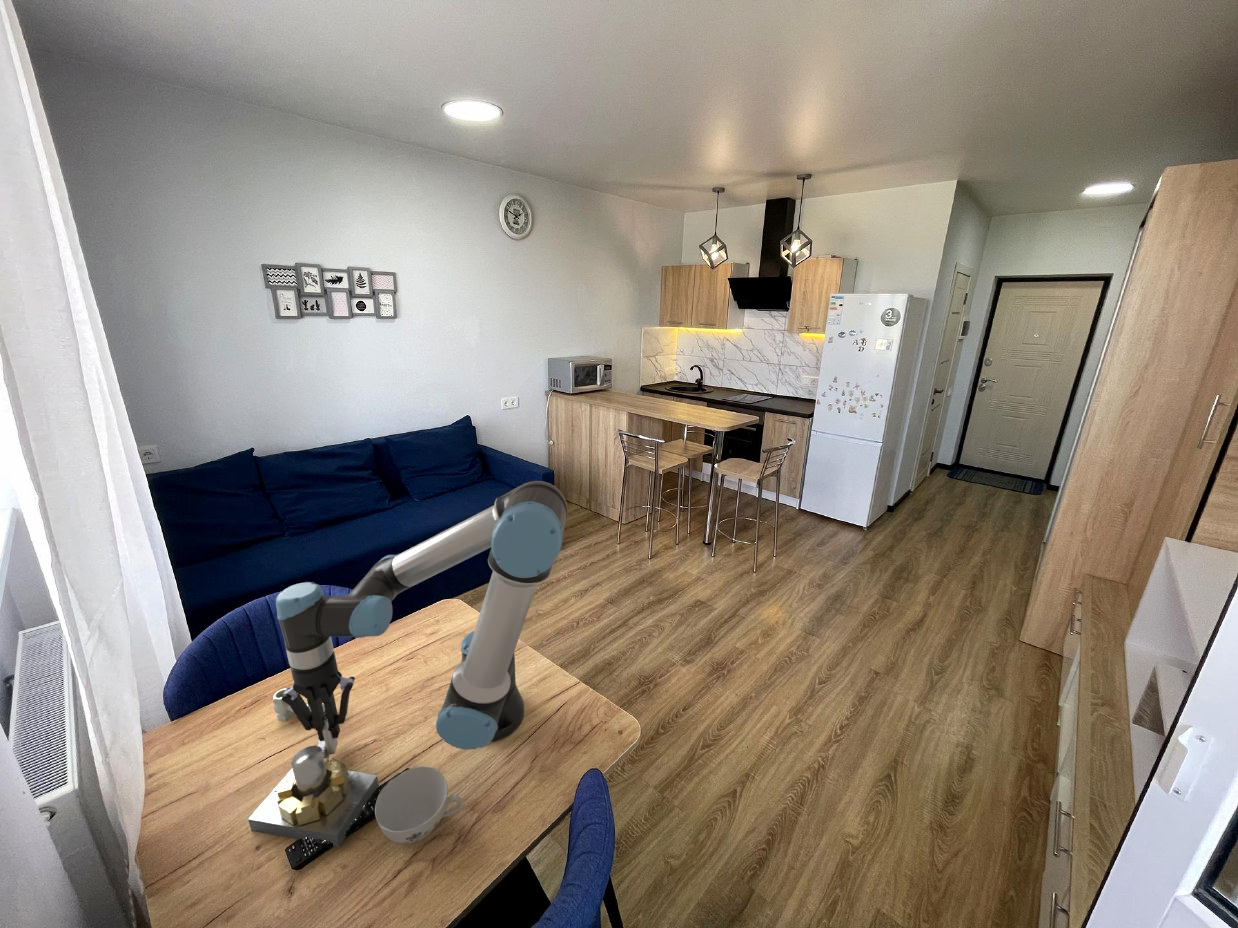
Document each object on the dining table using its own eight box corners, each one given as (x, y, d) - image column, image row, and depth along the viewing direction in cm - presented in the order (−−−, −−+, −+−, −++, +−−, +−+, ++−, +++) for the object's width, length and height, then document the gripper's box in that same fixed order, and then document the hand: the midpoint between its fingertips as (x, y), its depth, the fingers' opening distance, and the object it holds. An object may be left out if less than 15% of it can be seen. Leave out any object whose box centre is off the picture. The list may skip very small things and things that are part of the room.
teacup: (369, 866, 86) (363, 834, 83) (392, 798, 98) (387, 768, 95) (457, 856, 88) (453, 825, 85) (468, 791, 99) (466, 761, 97)
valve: (268, 726, 113) (317, 731, 112) (262, 703, 111) (312, 708, 110) (289, 704, 119) (335, 708, 119) (284, 682, 117) (331, 686, 117)
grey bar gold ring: (357, 725, 110) (355, 711, 109) (342, 812, 91) (339, 796, 90) (301, 739, 106) (298, 724, 105) (274, 832, 88) (270, 816, 86)
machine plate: (379, 786, 100) (371, 737, 96) (339, 846, 89) (328, 794, 85) (300, 772, 102) (289, 724, 98) (251, 830, 91) (236, 778, 87)
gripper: (352, 640, 101) (369, 728, 108) (282, 651, 97) (304, 741, 105) (343, 664, 94) (362, 756, 101) (267, 677, 91) (292, 771, 98)
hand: (332, 748), depth 103 cm, fingers closed
